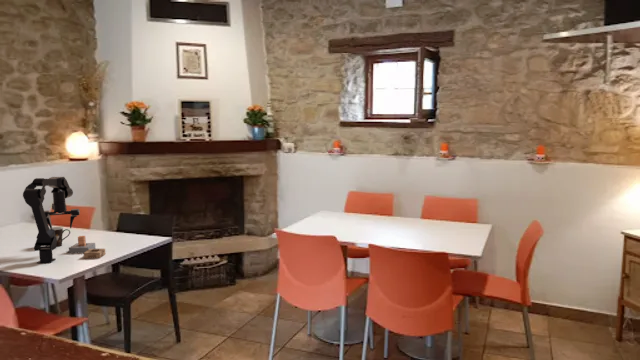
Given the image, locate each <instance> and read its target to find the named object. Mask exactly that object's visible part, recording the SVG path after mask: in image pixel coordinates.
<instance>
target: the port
mask: <svg viewBox="0 0 640 360" xmlns="http://www.w3.org/2000/svg"><path fill="white" fill-rule="evenodd" d="M89 249H96V242H86V246H78V242H77V243H74V244H73V245H70V247H68V254H84V252H86V251H87V250H89Z"/></svg>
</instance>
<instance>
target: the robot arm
mask: <svg viewBox="0 0 640 360" xmlns="http://www.w3.org/2000/svg"><path fill="white" fill-rule="evenodd" d="M47 186H48V187H50V188H52V190H51V191H50V193H51V194H52V199H53V200H52V201H53V203H52V205H51V209H52V211H50V210H45V209H44V205H43V203H44V200H45V195H46V193H47V189H46V187H47ZM37 187H41V188H37ZM73 194H74V191H73V189H72V188H71V187H70V185H69V183H68V180H67V179H66V177H65V176H51V177H48V178H42V177H41V178H37V177H36V178H34V179H33V180H32V182H30V183H29V184H27V186H26V187H25V188H24V191H23V192H22V198H23V200H24V201H25V204H26V205H28V206H29V207H30V208H31V211H32V214H33V218H34V220H35V225H36V228H37V231H38V233H37V235H36V241H35V243H34V246H33V249H34V252H35V251H39V254H38V255H39V260H38V261H37V262H36V263H37V264H51V263H53V262H54V261H55V260H56V258H54V257H53V250H56V249H57V247H56V244H57V238H56V235H55V231H54V229H52V227H53V225H52V219H51V216H63V215H70V217H69V218H70V220H69V221H70V222H69V228H70V229H72V226H73V222H74V220H75V218H77V216H79V215H80V213H81V211H80V208H72V209H71V210H67V207H68V206H67V204H66V199H68V198H70V197H72V196H73ZM49 228H50V229H49Z"/></svg>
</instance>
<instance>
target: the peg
mask: <svg viewBox="0 0 640 360" xmlns="http://www.w3.org/2000/svg"><path fill="white" fill-rule="evenodd" d="M86 241H87V239H86V235H78V236H77V243H78V246H86V243H87V242H86Z"/></svg>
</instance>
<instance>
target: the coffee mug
mask: <svg viewBox="0 0 640 360" xmlns="http://www.w3.org/2000/svg"><path fill="white" fill-rule="evenodd" d="M49 229H50V227H49ZM52 229H54V231H55V235H56V238H57V244H56V248H59V247H61V246H63V241H64V240H65V239H66V238H68V237H69V236H70V234H71V231H70V229H68V228H67V229H64V228H63V227H61V226H52ZM66 231H68V234H67V235H66V236H65V237H64V238H63V234H64V233H65V232H66Z"/></svg>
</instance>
